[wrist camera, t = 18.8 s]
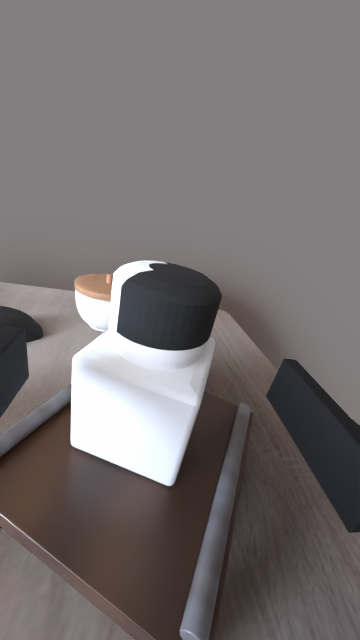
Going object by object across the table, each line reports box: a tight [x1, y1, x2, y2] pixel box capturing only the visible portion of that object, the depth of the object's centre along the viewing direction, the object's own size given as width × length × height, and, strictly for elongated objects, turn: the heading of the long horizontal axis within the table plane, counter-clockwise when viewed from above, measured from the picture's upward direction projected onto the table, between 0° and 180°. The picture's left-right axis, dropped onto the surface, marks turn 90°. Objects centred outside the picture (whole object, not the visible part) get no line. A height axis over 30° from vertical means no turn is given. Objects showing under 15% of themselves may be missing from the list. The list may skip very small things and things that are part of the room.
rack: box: [0, 383, 253, 640], centre depth 19 cm, size 16×16×6 cm
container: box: [70, 261, 222, 486], centre depth 17 cm, size 8×8×13 cm
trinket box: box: [75, 273, 113, 332], centre depth 41 cm, size 11×11×9 cm
